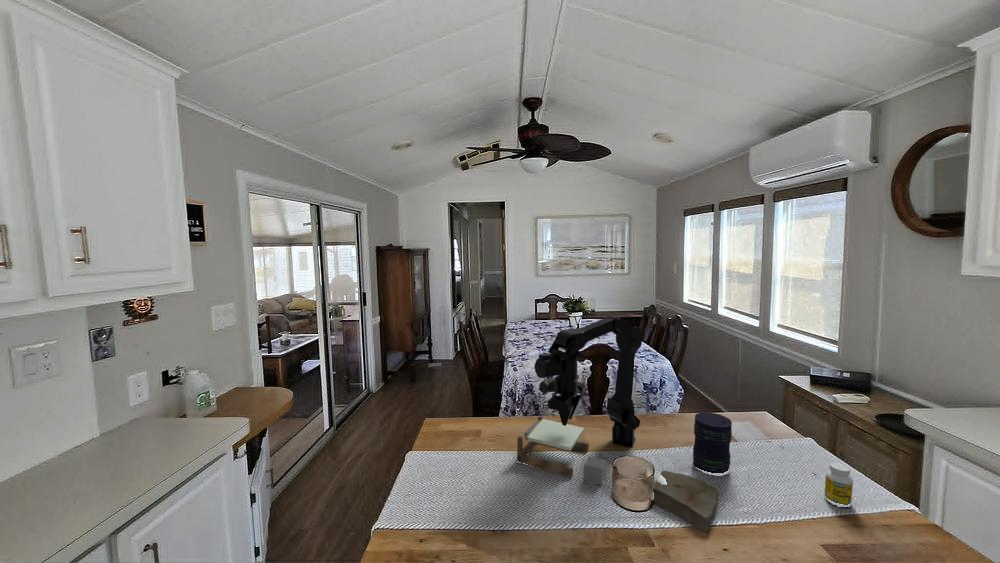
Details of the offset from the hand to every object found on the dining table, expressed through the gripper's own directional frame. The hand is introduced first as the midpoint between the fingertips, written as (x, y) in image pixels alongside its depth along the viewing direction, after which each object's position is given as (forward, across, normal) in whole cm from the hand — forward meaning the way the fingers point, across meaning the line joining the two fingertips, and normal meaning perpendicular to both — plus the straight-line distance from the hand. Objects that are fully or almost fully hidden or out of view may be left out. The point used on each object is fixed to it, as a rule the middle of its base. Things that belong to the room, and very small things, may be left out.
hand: (566, 422), depth 123 cm
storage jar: (+12, -16, +40) cm, 44 cm away
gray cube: (+12, +6, +10) cm, 17 cm away
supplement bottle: (+12, -13, +68) cm, 71 cm away
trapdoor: (+5, 0, -4) cm, 7 cm away
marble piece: (+13, +6, +34) cm, 36 cm away
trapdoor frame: (+12, 0, -4) cm, 13 cm away
